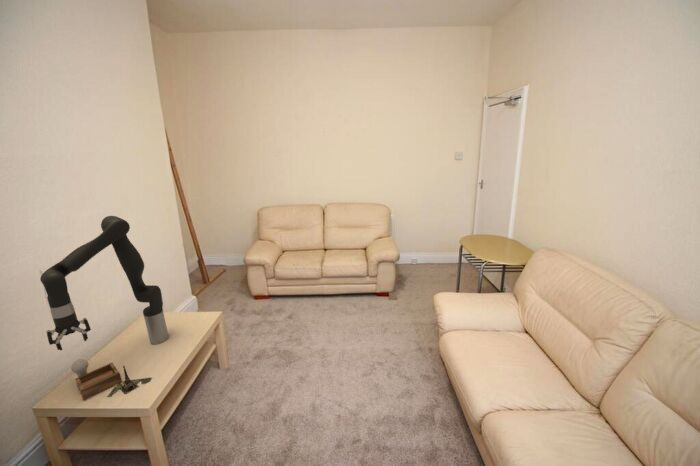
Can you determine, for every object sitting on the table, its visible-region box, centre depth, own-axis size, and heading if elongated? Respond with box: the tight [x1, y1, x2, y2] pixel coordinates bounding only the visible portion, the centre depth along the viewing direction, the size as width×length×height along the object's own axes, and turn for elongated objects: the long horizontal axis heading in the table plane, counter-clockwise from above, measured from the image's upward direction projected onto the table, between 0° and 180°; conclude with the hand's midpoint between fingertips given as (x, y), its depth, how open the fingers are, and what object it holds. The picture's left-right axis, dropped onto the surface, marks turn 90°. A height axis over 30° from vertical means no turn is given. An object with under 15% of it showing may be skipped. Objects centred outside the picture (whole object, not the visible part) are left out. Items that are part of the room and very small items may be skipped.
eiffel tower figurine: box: [106, 364, 153, 398], centre depth 139 cm, size 15×10×13 cm
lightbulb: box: [70, 358, 89, 378], centre depth 145 cm, size 6×6×11 cm
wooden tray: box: [75, 362, 123, 401], centre depth 142 cm, size 12×14×5 cm
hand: (73, 345), depth 141 cm, fingers open, 8 cm apart
